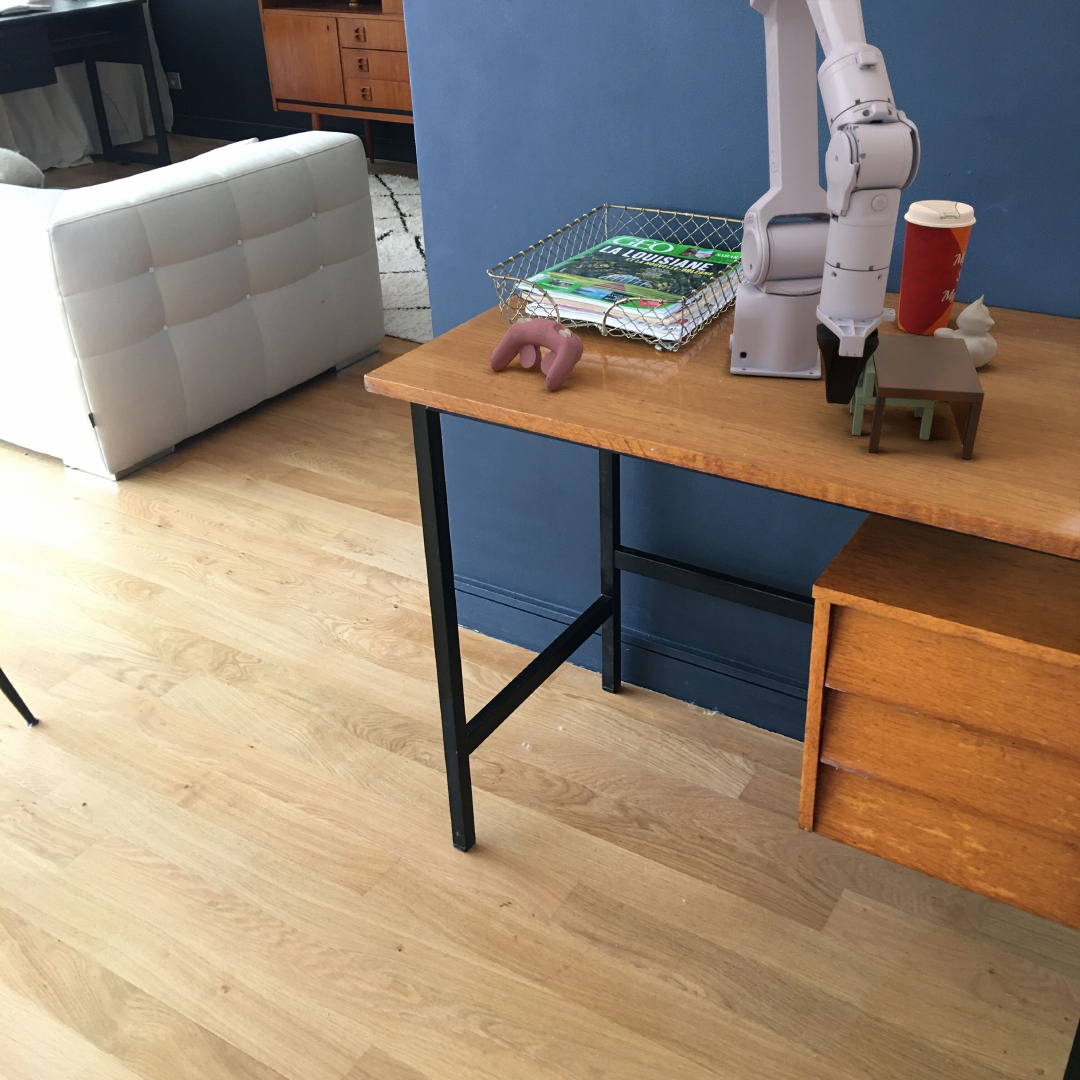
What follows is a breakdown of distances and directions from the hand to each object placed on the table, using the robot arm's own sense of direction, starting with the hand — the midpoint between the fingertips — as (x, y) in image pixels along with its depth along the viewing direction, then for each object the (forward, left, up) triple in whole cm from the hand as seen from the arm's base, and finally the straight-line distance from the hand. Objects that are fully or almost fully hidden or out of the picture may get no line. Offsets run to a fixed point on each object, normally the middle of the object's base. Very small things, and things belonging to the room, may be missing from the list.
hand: (837, 401), depth 106 cm
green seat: (+5, 0, -2) cm, 5 cm away
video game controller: (-31, +7, -2) cm, 32 cm away
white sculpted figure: (+14, +17, -2) cm, 22 cm away
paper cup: (+11, +29, -2) cm, 31 cm away
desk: (+7, 0, -2) cm, 8 cm away
